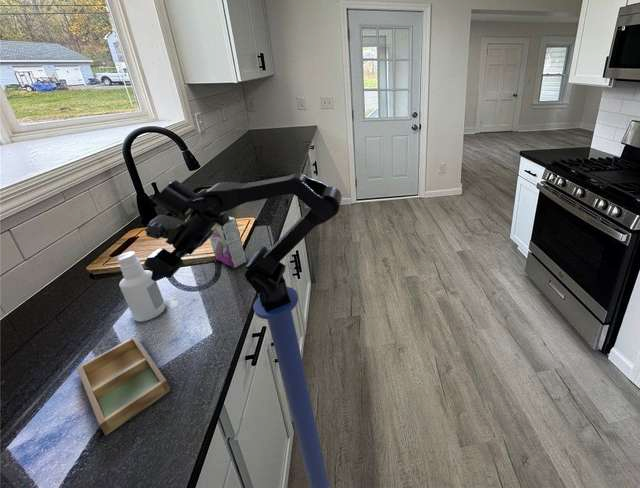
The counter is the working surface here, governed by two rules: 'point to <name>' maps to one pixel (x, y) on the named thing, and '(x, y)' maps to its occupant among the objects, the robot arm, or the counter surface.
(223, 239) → the candy bar box
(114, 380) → the holder
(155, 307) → the spray bottle
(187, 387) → the counter surface
